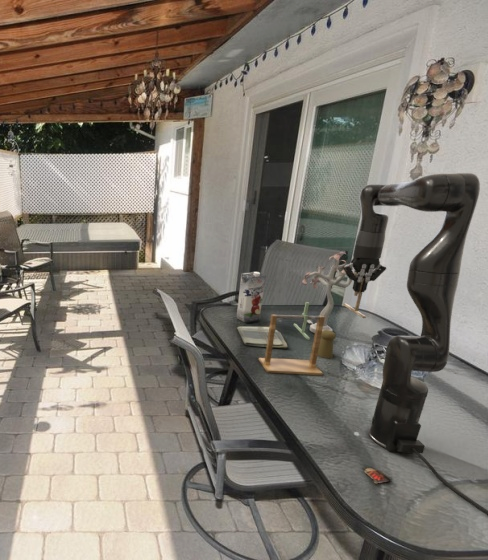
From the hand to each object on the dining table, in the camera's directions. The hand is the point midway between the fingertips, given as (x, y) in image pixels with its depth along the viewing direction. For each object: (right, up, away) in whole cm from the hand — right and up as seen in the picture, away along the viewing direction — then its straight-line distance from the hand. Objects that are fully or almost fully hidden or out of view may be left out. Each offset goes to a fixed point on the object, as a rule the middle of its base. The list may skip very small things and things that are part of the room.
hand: (358, 291), depth 126 cm
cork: (+5, -28, +25) cm, 38 cm away
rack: (-15, -31, +16) cm, 38 cm away
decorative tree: (+19, -21, +48) cm, 56 cm away
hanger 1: (-13, -10, +9) cm, 19 cm away
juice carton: (-10, -18, +62) cm, 65 cm away
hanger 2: (0, -1, 0) cm, 1 cm away
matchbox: (-24, -47, -35) cm, 63 cm away
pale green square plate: (-14, -24, +40) cm, 49 cm away
